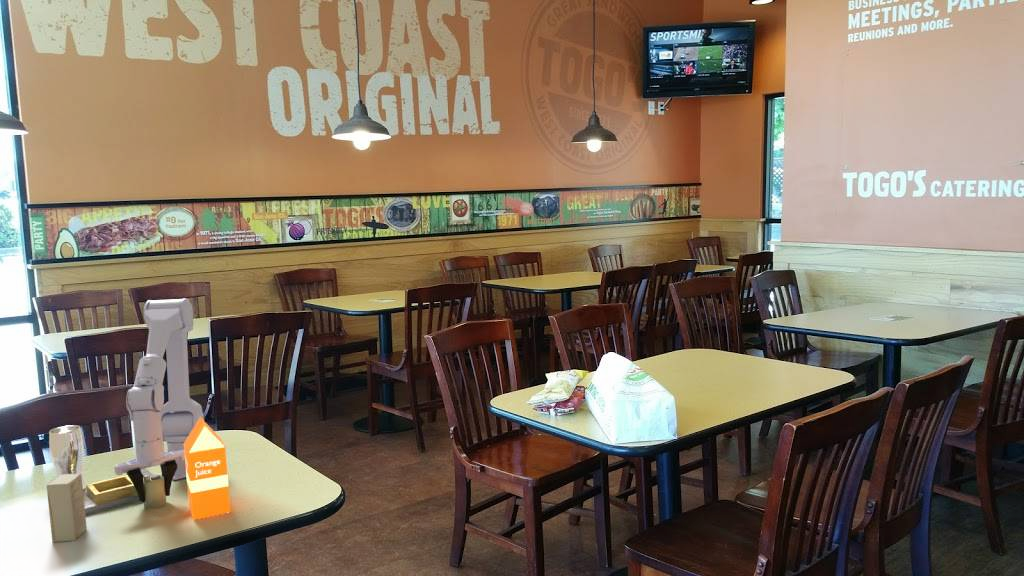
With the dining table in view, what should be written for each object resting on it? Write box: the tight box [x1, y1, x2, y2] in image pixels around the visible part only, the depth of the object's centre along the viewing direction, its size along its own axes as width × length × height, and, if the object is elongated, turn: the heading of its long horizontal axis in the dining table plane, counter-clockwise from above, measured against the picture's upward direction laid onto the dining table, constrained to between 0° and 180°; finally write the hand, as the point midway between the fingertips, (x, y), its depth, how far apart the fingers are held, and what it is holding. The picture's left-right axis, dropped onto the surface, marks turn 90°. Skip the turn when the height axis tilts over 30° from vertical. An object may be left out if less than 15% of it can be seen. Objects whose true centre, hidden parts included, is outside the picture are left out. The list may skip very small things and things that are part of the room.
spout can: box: [143, 474, 167, 510], centre depth 178 cm, size 5×5×7 cm
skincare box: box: [46, 473, 87, 543], centre depth 163 cm, size 6×4×12 cm
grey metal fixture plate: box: [83, 468, 154, 516], centre depth 183 cm, size 18×12×5 cm, turn 130°
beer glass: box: [48, 425, 86, 491], centre depth 190 cm, size 7×7×15 cm
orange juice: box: [184, 417, 231, 521], centre depth 174 cm, size 8×9×20 cm
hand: (154, 497), depth 179 cm, fingers closed on spout can, 5 cm apart
